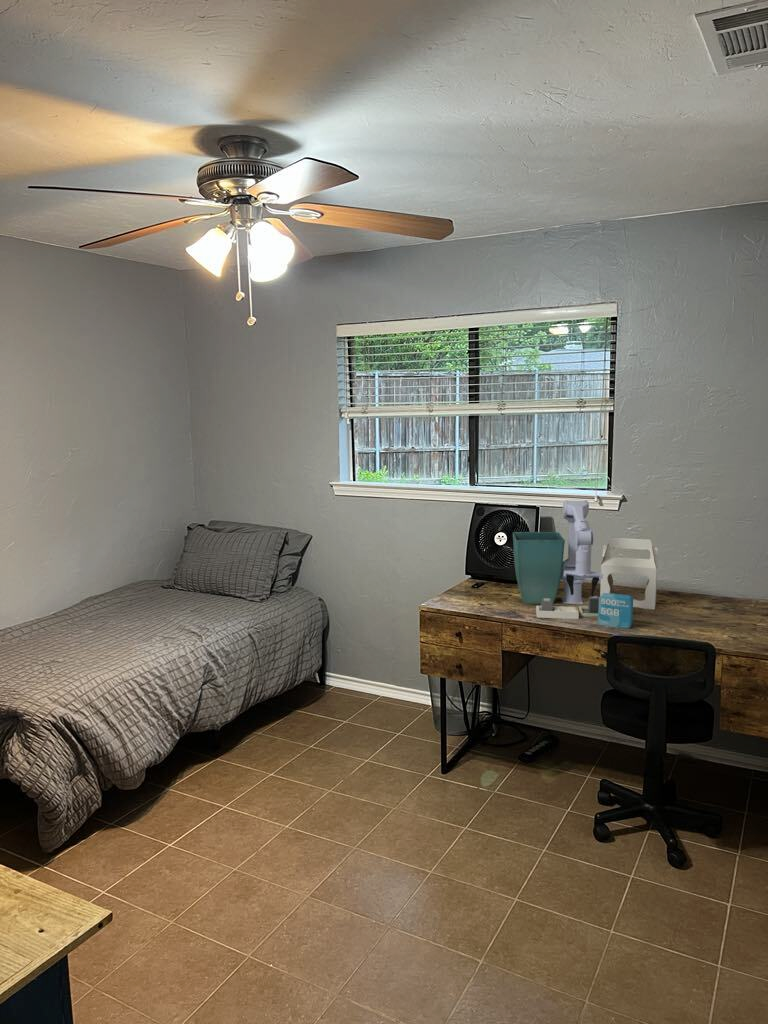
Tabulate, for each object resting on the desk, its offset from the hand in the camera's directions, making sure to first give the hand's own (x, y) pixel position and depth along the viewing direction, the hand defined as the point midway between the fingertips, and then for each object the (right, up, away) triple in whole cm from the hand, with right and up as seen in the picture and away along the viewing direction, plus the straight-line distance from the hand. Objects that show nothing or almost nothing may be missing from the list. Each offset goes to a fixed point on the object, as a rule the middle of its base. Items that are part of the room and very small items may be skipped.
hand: (582, 595), depth 294 cm
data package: (+11, -11, -6) cm, 17 cm away
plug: (+7, -8, +10) cm, 15 cm away
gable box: (+26, -6, +24) cm, 36 cm away
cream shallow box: (-8, -9, +7) cm, 14 cm away
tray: (+7, -8, +10) cm, 15 cm away
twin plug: (-12, -9, +7) cm, 17 cm away
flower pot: (-12, -6, +30) cm, 33 cm away
